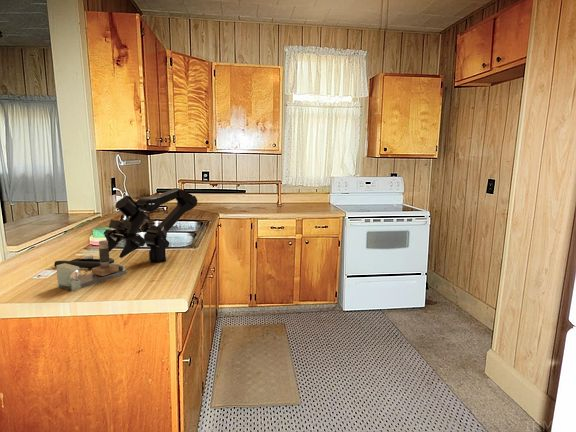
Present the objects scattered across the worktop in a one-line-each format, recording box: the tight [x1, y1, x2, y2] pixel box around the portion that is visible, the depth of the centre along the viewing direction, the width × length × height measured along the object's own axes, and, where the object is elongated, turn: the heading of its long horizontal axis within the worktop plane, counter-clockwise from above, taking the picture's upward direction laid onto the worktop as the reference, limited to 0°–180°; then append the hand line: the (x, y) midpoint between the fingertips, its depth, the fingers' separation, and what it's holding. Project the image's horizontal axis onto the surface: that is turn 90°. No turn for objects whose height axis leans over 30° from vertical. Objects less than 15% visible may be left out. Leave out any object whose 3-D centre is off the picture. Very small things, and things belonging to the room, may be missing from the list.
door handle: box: [53, 255, 115, 270], centre depth 152 cm, size 3×20×16 cm
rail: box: [55, 262, 127, 292], centre depth 131 cm, size 22×9×8 cm, turn 153°
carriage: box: [91, 240, 119, 276], centre depth 135 cm, size 7×6×12 cm
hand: (112, 255), depth 138 cm, fingers open, 9 cm apart
